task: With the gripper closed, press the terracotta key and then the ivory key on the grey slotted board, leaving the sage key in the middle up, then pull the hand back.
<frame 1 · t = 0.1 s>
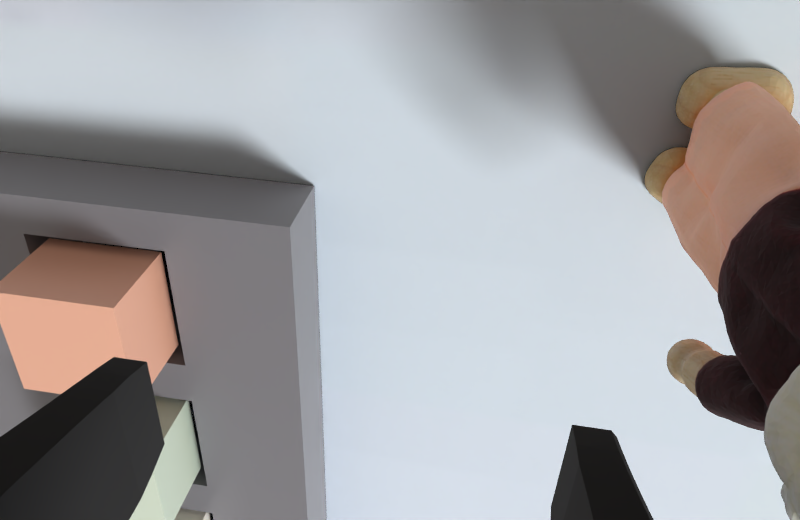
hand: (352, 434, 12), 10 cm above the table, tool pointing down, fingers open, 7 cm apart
grey slotted board: (171, 388, 26), on the table
sage key: (129, 456, 24), point 3 cm above the table, slide at 0.0 cm
terracotta key: (92, 320, 20), point 3 cm above the table, slide at 0.0 cm
grandmother figurine: (721, 124, 18), on the table
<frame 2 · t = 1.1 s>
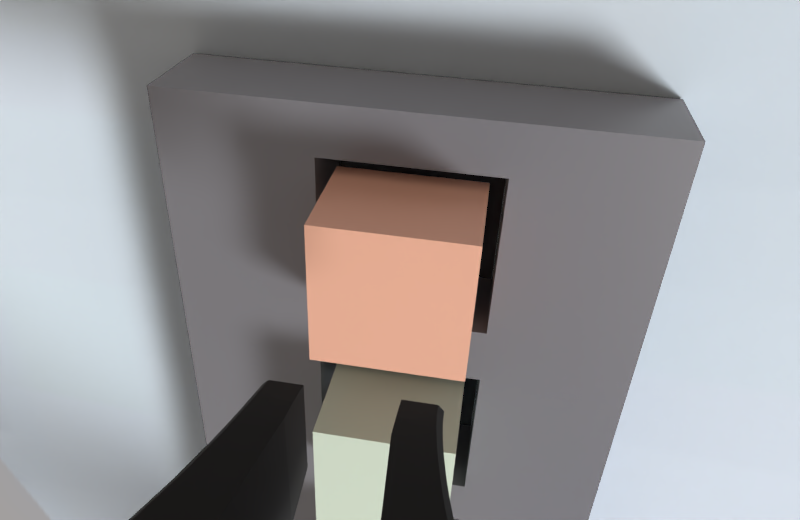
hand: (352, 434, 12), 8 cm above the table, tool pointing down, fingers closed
grey slotted board: (409, 367, 22), on the table
sage key: (390, 448, 19), point 3 cm above the table, slide at 0.0 cm
terracotta key: (399, 271, 16), point 3 cm above the table, slide at 0.0 cm
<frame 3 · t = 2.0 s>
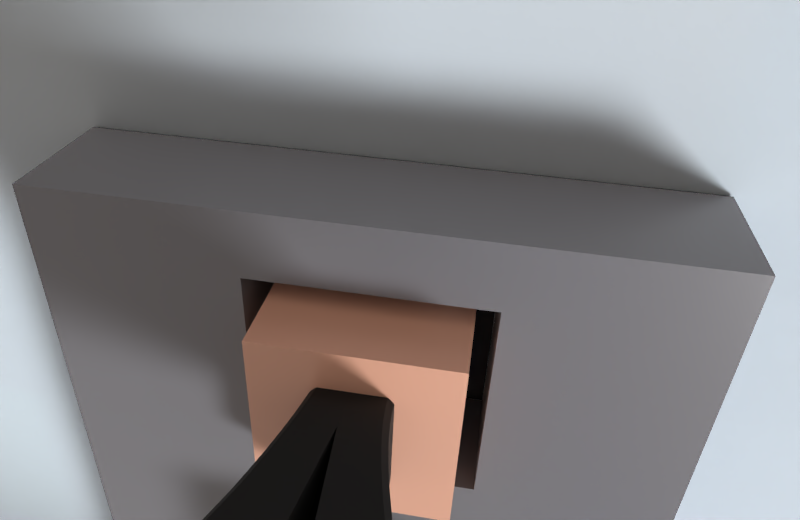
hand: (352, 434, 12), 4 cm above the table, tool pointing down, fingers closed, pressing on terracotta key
grey slotted board: (382, 492, 18), on the table
terracotta key: (369, 381, 13), point 2 cm above the table, slide at 1.2 cm, touching gripper
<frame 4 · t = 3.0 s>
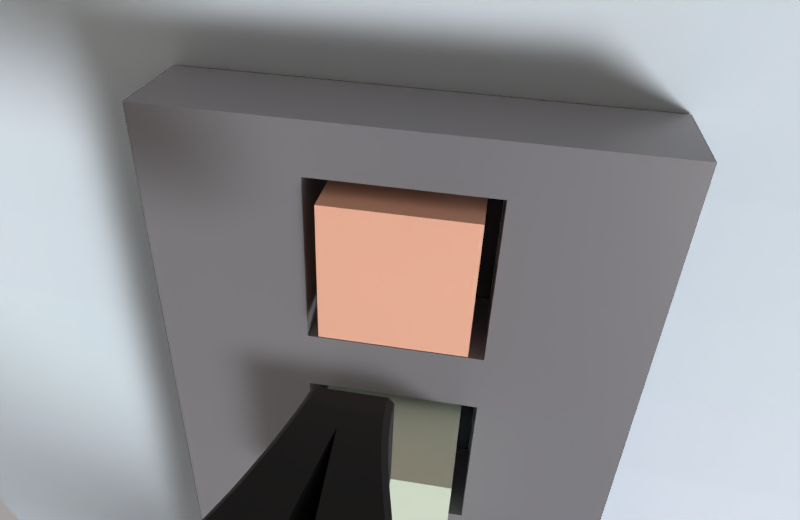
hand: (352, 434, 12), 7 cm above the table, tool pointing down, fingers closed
grey slotted board: (403, 389, 21), on the table
sage key: (383, 478, 18), point 3 cm above the table, slide at 0.0 cm
terracotta key: (404, 251, 16), point 2 cm above the table, slide at 1.9 cm
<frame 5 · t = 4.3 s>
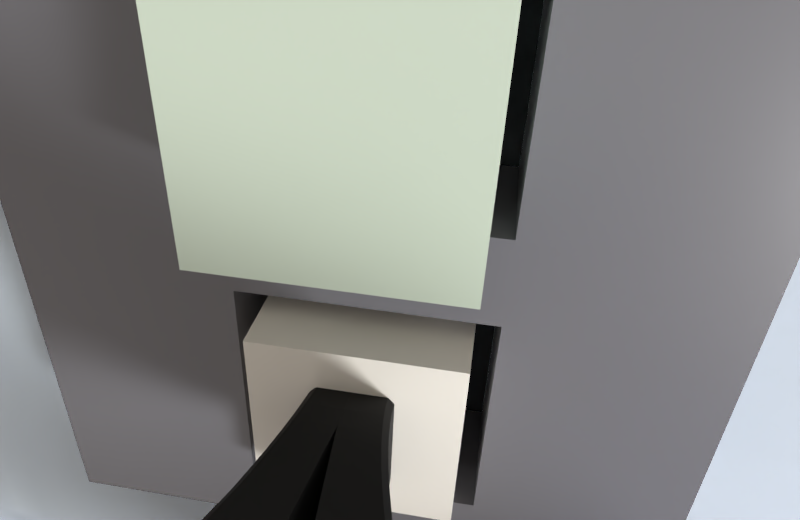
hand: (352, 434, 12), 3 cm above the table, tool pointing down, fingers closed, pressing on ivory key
grey slotted board: (399, 27, 11), on the table
sage key: (353, 99, 8), point 3 cm above the table, slide at 0.0 cm
ivory key: (370, 381, 13), point 2 cm above the table, slide at 1.6 cm, touching gripper
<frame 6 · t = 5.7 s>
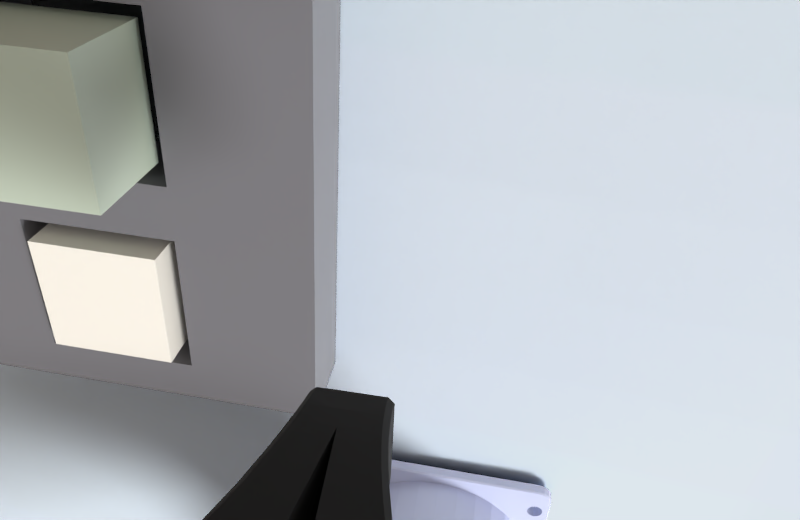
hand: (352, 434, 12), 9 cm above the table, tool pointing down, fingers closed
grey slotted board: (119, 61, 18), on the table
sage key: (44, 105, 15), point 3 cm above the table, slide at 0.0 cm
ivory key: (127, 276, 20), point 2 cm above the table, slide at 1.9 cm
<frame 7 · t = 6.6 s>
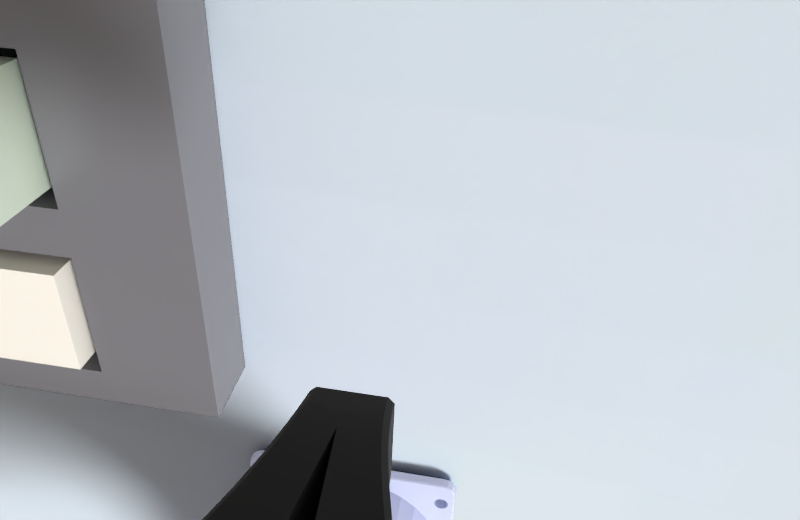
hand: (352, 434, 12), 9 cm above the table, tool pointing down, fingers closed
grey slotted board: (19, 93, 20), on the table
ivory key: (39, 290, 22), point 2 cm above the table, slide at 1.9 cm
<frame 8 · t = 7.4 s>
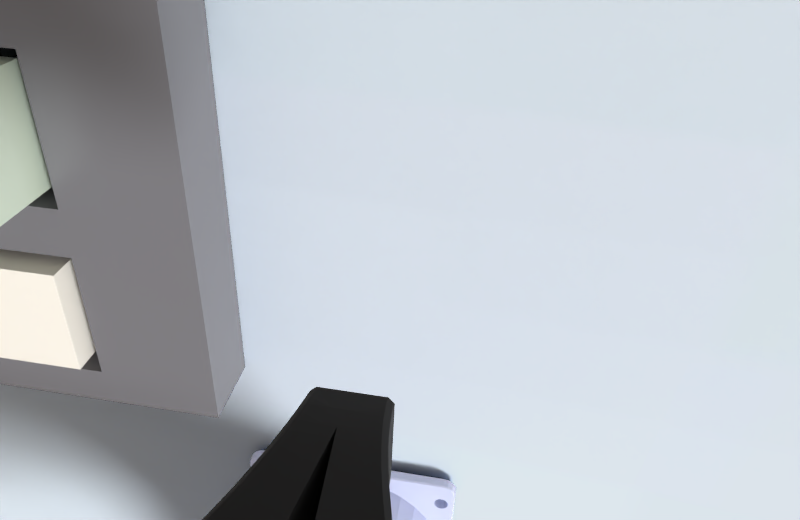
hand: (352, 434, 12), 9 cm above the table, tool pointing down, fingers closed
grey slotted board: (19, 93, 20), on the table
ivory key: (39, 290, 22), point 2 cm above the table, slide at 1.9 cm
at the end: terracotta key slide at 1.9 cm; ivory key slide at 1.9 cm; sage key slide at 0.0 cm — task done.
